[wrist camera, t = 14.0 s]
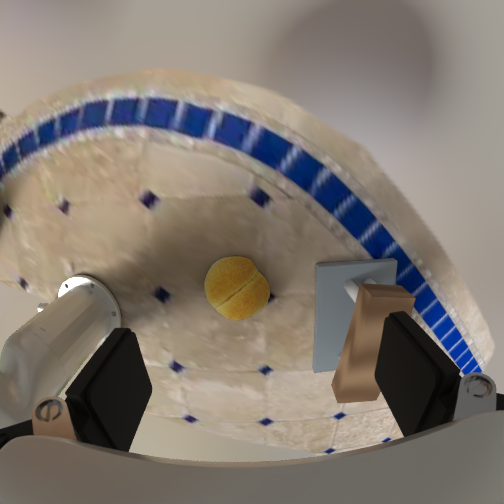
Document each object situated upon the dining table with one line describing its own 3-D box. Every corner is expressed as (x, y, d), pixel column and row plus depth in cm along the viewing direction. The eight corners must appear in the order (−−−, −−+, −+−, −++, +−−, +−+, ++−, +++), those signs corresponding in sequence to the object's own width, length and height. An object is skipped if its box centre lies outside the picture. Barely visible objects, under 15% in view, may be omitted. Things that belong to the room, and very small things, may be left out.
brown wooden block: (360, 283, 32) (372, 296, 28) (400, 285, 32) (415, 298, 28) (331, 384, 36) (337, 403, 33) (367, 383, 37) (376, 400, 33)
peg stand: (312, 367, 43) (319, 393, 37) (316, 263, 38) (327, 280, 32) (378, 357, 43) (392, 380, 37) (392, 257, 38) (414, 272, 32)
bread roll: (239, 242, 38) (237, 250, 34) (278, 292, 40) (280, 305, 36) (192, 277, 39) (186, 288, 35) (231, 323, 41) (230, 337, 37)
